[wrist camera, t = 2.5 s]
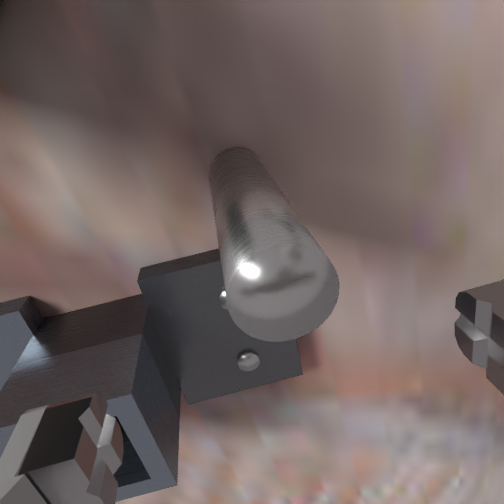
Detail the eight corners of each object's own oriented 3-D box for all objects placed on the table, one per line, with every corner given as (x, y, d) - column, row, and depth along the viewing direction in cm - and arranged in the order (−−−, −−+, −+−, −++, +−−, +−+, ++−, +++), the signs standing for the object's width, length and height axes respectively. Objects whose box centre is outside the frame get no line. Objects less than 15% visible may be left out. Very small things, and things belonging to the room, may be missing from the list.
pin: (258, 141, 20) (333, 231, 9) (268, 194, 21) (343, 326, 11) (202, 155, 20) (214, 261, 9) (216, 207, 21) (240, 353, 11)
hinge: (272, 235, 22) (310, 314, 15) (297, 359, 27) (334, 464, 20) (-109, 330, 22) (-255, 459, 15) (-17, 440, 26) (-94, 579, 19)
